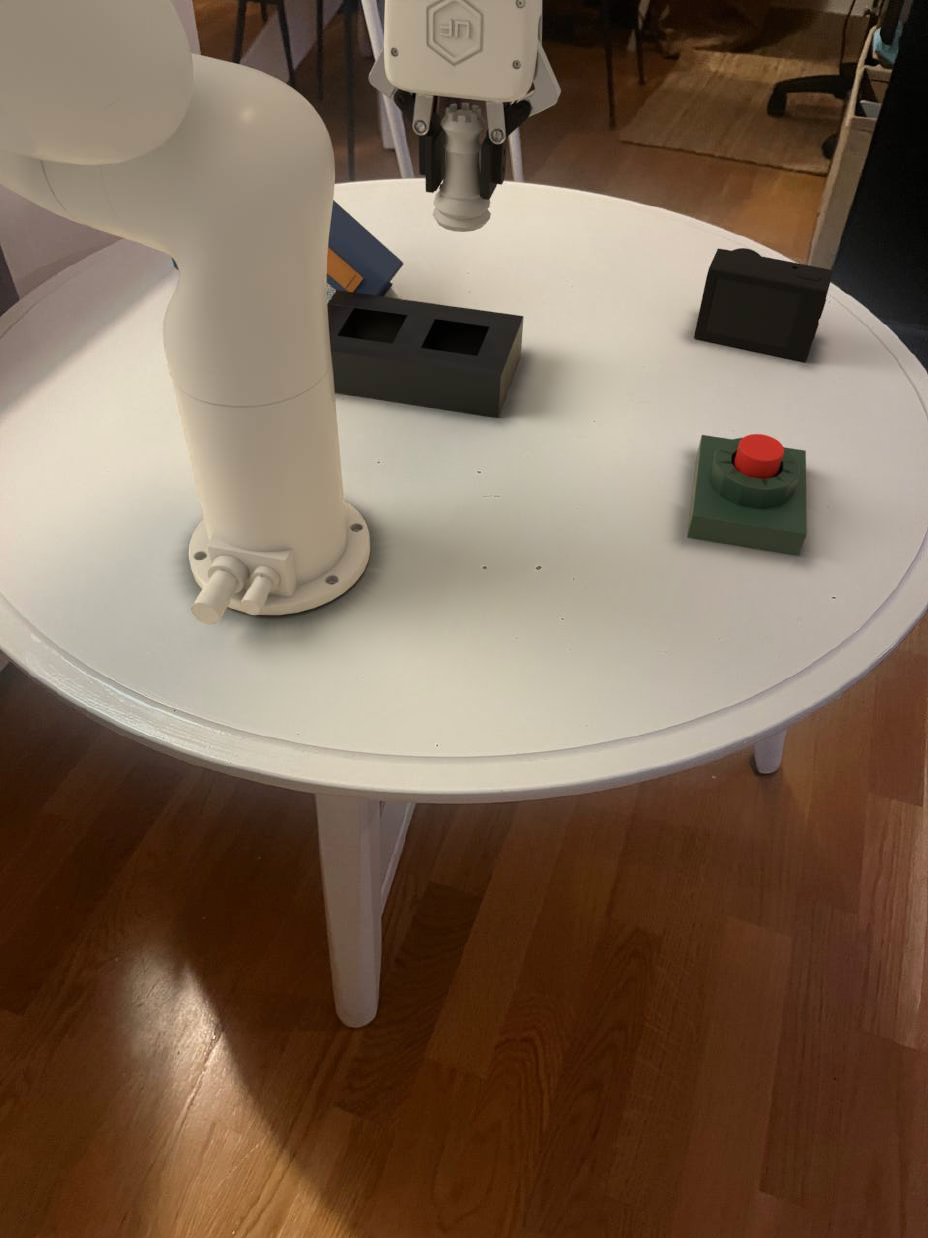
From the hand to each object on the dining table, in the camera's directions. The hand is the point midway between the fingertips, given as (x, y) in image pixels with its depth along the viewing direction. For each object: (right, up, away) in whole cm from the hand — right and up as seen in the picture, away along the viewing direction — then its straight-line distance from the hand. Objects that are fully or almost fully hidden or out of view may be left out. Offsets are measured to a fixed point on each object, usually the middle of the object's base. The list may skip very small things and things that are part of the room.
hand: (462, 186), depth 73 cm
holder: (-4, -11, +13) cm, 17 cm away
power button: (+22, -21, -1) cm, 30 cm away
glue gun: (-16, -1, +22) cm, 28 cm away
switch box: (+22, -24, +2) cm, 32 cm away
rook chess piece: (0, -2, +2) cm, 3 cm away
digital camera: (+27, -6, +18) cm, 33 cm away
